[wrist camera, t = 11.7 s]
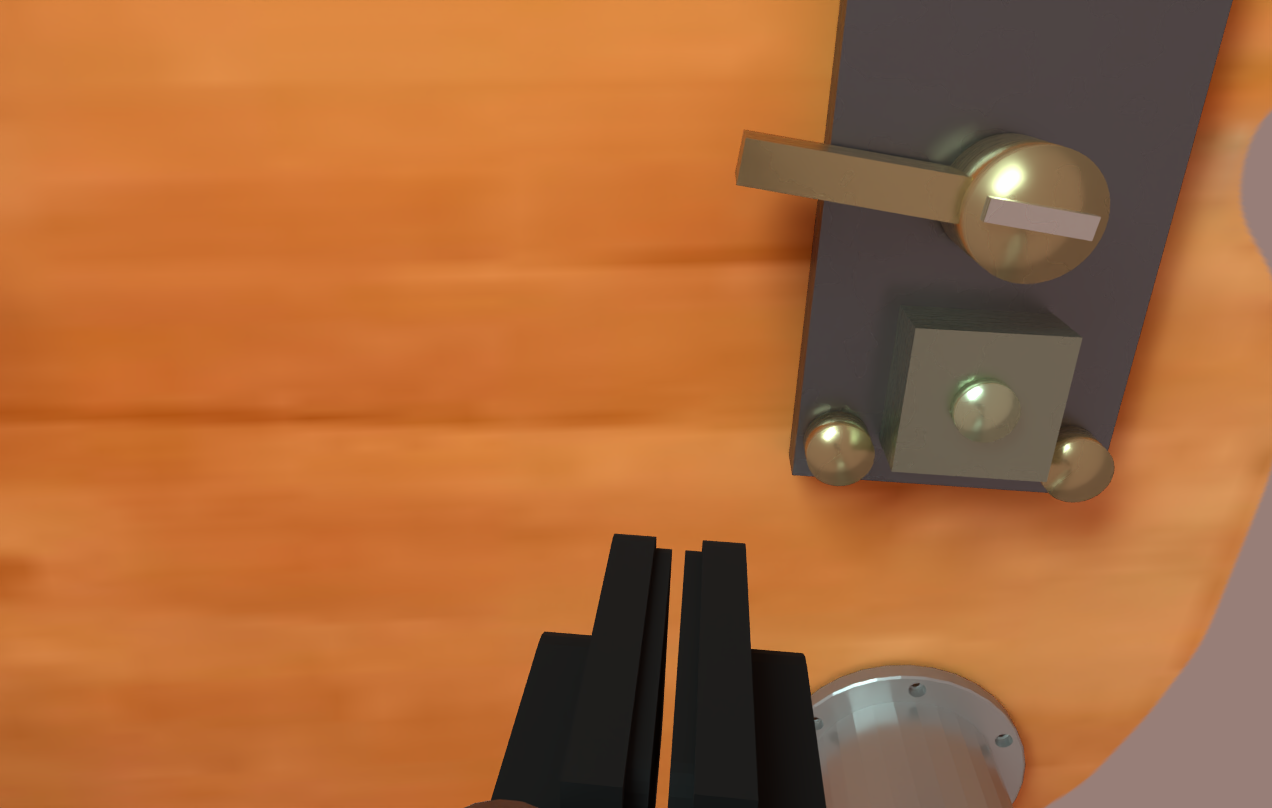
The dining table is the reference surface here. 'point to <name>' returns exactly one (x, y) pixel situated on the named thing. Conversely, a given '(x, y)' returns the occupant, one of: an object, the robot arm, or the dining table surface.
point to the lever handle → (956, 195)
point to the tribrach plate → (955, 283)
